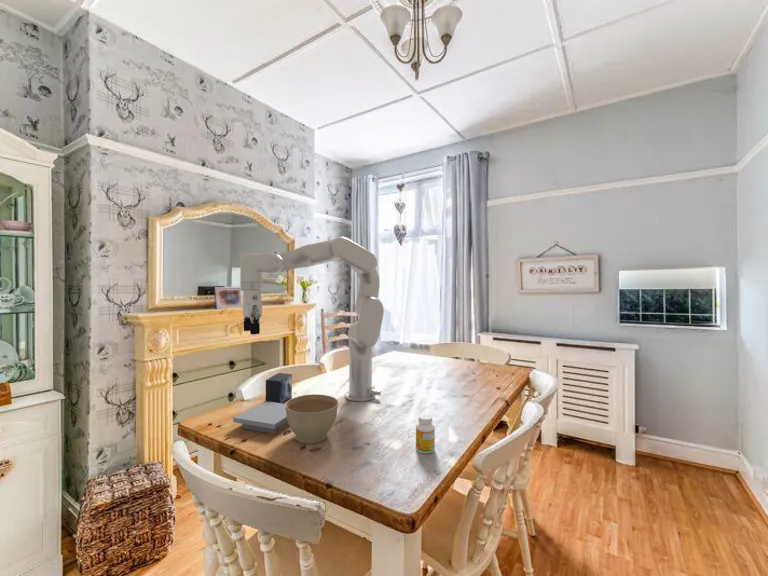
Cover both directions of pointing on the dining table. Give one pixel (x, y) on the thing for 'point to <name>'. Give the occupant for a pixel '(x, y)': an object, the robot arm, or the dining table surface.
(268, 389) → the small box
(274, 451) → the dining table surface
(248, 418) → the stand
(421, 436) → the supplement bottle
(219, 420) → the dining table surface
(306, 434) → the planter bowl
